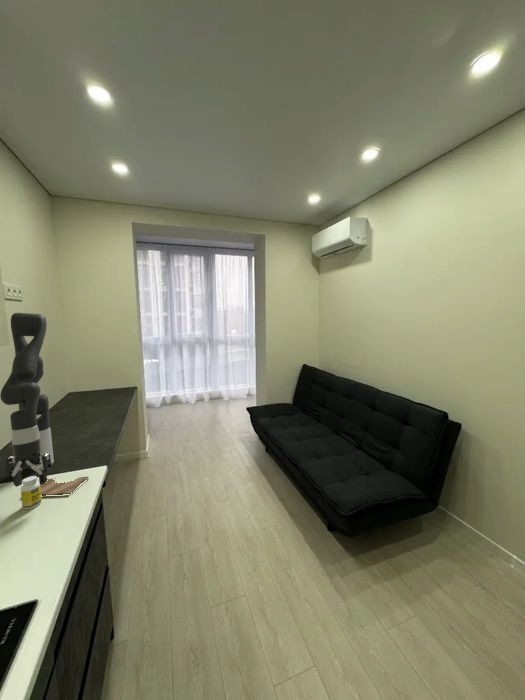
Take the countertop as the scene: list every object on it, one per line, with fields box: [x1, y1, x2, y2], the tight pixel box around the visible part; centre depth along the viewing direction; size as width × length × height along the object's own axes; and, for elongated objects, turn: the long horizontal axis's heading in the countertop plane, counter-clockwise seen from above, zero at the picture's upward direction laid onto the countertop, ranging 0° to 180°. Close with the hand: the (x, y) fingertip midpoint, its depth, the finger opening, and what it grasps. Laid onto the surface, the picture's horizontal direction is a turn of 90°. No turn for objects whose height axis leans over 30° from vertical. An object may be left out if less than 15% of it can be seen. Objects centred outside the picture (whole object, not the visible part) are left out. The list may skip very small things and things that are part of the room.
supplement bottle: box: [20, 475, 42, 510], centre depth 103 cm, size 5×5×10 cm
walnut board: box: [40, 476, 89, 496], centre depth 114 cm, size 18×12×1 cm, turn 91°
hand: (30, 484), depth 102 cm, fingers open, 8 cm apart
